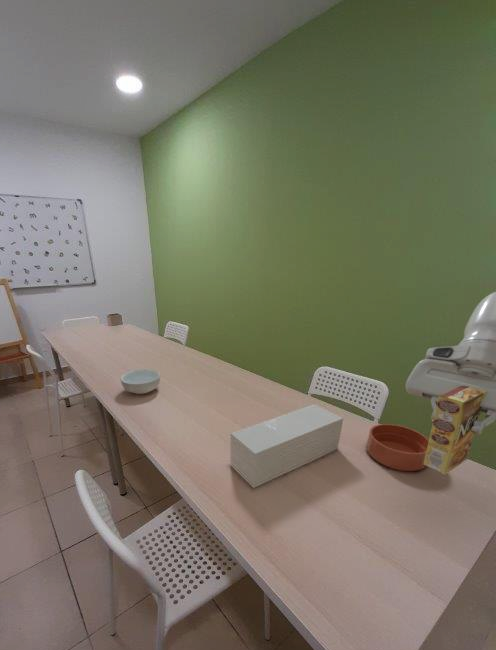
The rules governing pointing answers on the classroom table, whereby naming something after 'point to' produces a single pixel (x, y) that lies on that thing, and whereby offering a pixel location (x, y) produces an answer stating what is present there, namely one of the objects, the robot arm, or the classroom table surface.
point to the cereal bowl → (140, 381)
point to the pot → (397, 447)
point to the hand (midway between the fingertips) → (454, 426)
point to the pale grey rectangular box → (284, 443)
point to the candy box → (453, 428)
